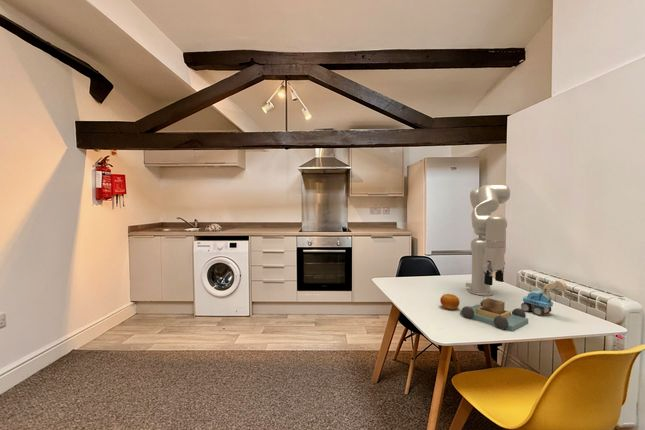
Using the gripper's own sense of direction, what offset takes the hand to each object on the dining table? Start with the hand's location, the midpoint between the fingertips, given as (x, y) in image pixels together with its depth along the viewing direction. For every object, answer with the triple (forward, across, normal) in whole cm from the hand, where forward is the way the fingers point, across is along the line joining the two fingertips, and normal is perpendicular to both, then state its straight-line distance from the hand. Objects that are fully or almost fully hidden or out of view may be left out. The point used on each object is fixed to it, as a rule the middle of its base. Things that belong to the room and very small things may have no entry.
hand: (493, 282), depth 134 cm
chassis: (+16, 0, 0) cm, 16 cm away
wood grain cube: (+14, 0, 0) cm, 14 cm away
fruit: (+16, +4, -19) cm, 25 cm away
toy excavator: (+17, -26, +10) cm, 32 cm away
